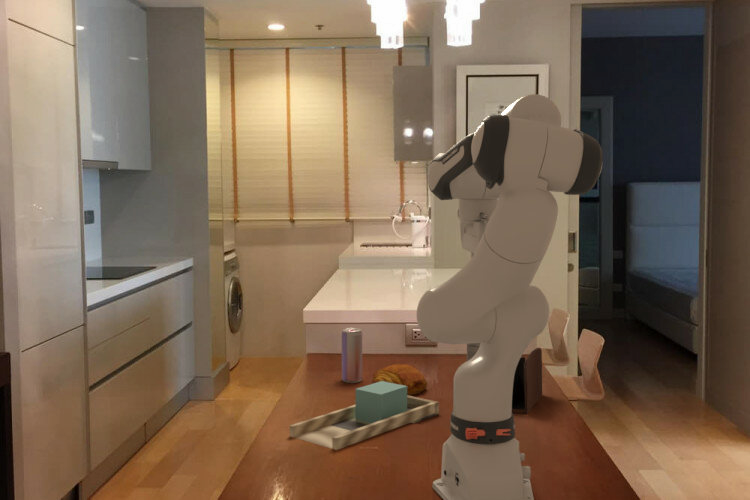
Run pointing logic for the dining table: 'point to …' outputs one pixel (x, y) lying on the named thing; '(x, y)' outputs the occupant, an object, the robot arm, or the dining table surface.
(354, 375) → the beverage can
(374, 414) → the teal block
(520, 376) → the letter holder
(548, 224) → the robot arm
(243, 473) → the dining table surface
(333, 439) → the trap lane
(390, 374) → the croissant
